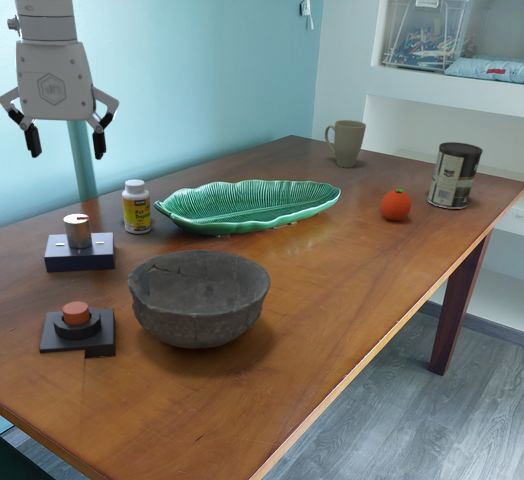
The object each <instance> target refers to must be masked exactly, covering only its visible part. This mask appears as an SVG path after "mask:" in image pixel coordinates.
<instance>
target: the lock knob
mask: <svg viewBox="0 0 524 480" xmlns="http://www.w3.org/2000/svg"><path fill="white" fill-rule="evenodd" d="M63 224H64V230H65V234H66V236H67V242H68V246H69V247H71V248H76V249H81V248H86V247H89V246H91V245H92V237H91V233H92V231H91V223H90V217H89V215H87V214H81V213H75V214H69V215H66V216H65V217H64V218H63Z"/></svg>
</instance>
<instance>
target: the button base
mask: <svg viewBox="0 0 524 480" xmlns="http://www.w3.org/2000/svg"><path fill="white" fill-rule="evenodd" d="M88 308H89V314H90V320H89V321H88V322H86V323H83V324H80V325H69V324H66V323H65V321H64V316H63V311H62V309H61V310H59V311H50V312H49V311H48V312H45V313H46V314H45V318H44V322H43V323H44V324H43V329H42V333H41V340H40V345H39V350H38V351H39V354H50V353H61V352H75V351H84V357H83V359H93V358H92V357H96V358H101V357H100V356H108V357H112V356H111V355H115V356H116V316H115V309H114V307H110V308H109V307H108V308H98V309H97V308H95V307H91V306H88Z"/></svg>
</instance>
